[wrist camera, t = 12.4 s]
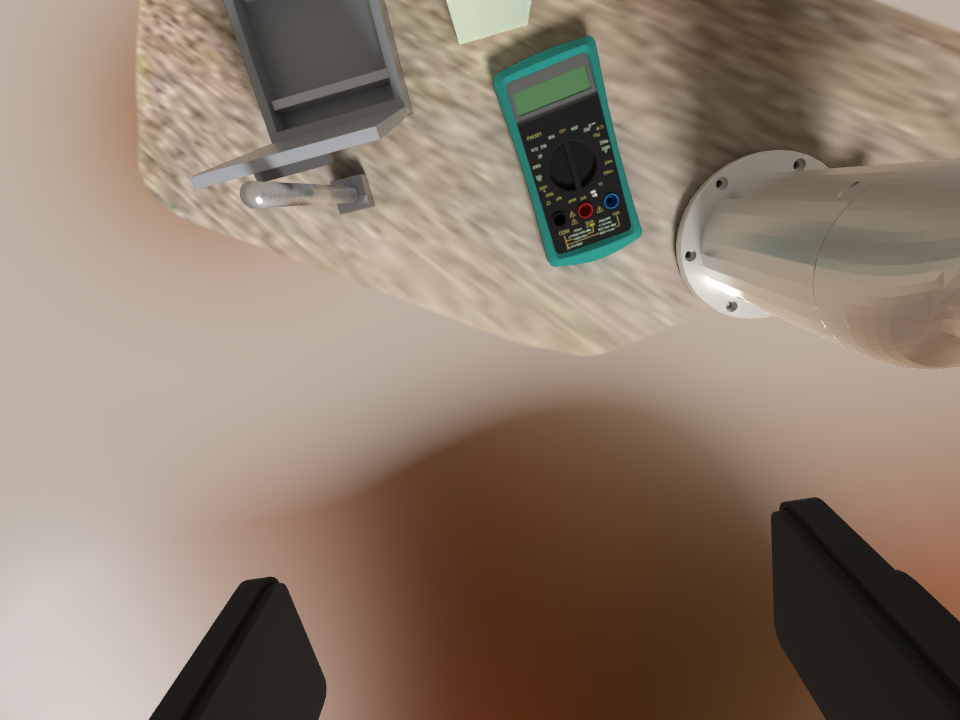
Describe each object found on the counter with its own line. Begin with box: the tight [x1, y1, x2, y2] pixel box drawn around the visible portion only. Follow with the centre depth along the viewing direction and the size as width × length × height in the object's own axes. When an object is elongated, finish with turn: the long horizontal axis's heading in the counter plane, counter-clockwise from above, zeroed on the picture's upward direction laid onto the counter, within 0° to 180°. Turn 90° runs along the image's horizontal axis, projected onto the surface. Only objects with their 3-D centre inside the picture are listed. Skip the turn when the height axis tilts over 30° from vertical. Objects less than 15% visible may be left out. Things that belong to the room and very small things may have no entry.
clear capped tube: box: [240, 174, 375, 214], centre depth 31 cm, size 2×2×17 cm
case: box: [223, 0, 413, 143], centre depth 34 cm, size 10×12×3 cm
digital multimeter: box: [493, 36, 642, 267], centre depth 36 cm, size 7×15×3 cm, turn 20°
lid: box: [189, 107, 408, 190], centre depth 30 cm, size 10×12×1 cm
